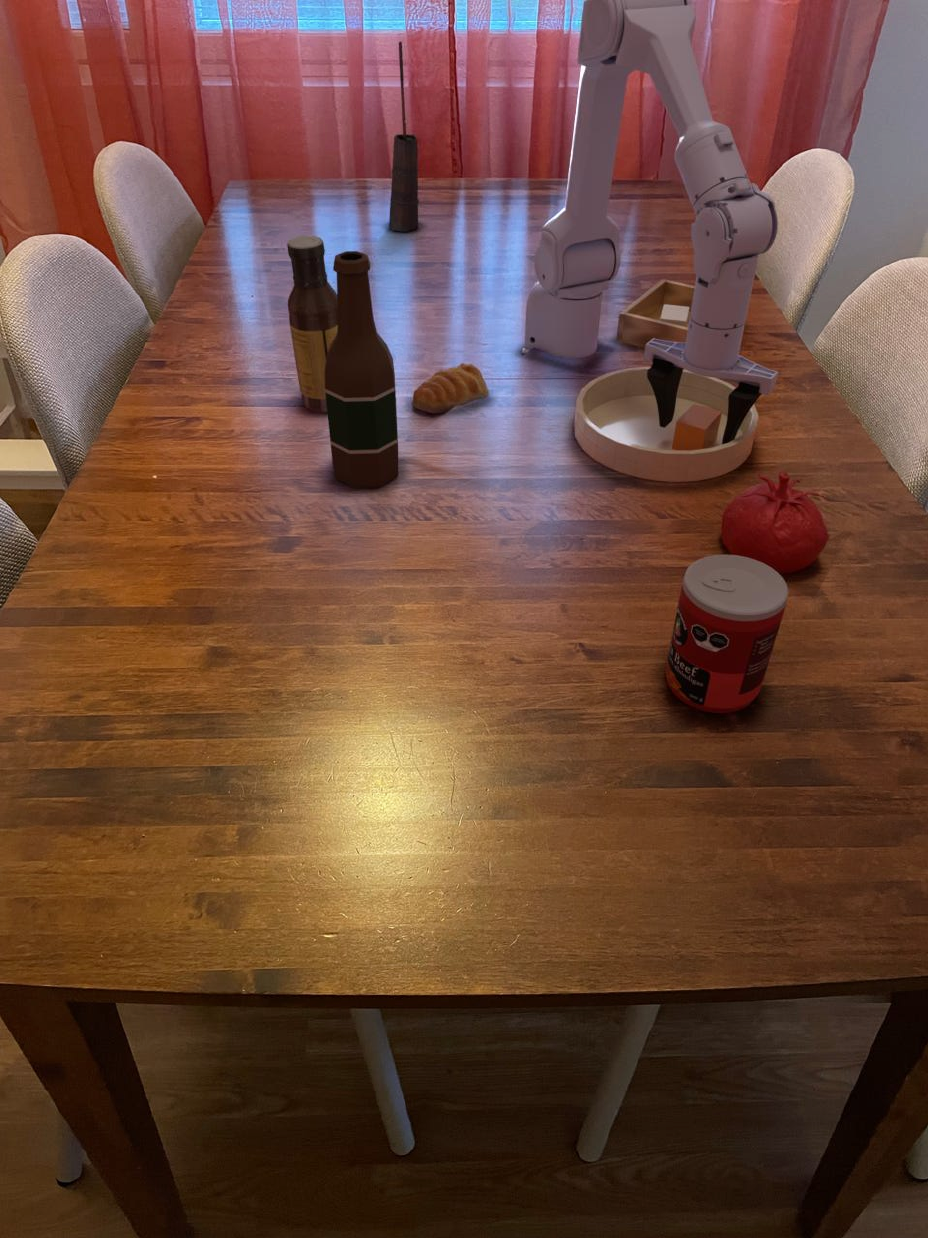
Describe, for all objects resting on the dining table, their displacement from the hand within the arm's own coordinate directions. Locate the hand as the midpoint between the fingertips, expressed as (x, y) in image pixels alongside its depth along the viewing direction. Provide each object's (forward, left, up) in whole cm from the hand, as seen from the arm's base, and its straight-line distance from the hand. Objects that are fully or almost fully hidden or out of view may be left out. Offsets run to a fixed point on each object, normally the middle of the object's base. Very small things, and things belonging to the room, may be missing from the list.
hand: (696, 433), depth 108 cm
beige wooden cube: (-14, +26, -2) cm, 30 cm away
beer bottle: (-29, -24, -2) cm, 38 cm away
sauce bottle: (-43, -14, -3) cm, 45 cm away
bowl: (-4, 0, -2) cm, 5 cm away
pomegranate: (+14, -15, -2) cm, 21 cm away
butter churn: (-71, +43, -3) cm, 83 cm away
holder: (-14, +29, -2) cm, 32 cm away
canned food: (+16, -35, -2) cm, 39 cm away
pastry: (-30, -5, -3) cm, 31 cm away
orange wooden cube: (0, 0, -1) cm, 1 cm away
